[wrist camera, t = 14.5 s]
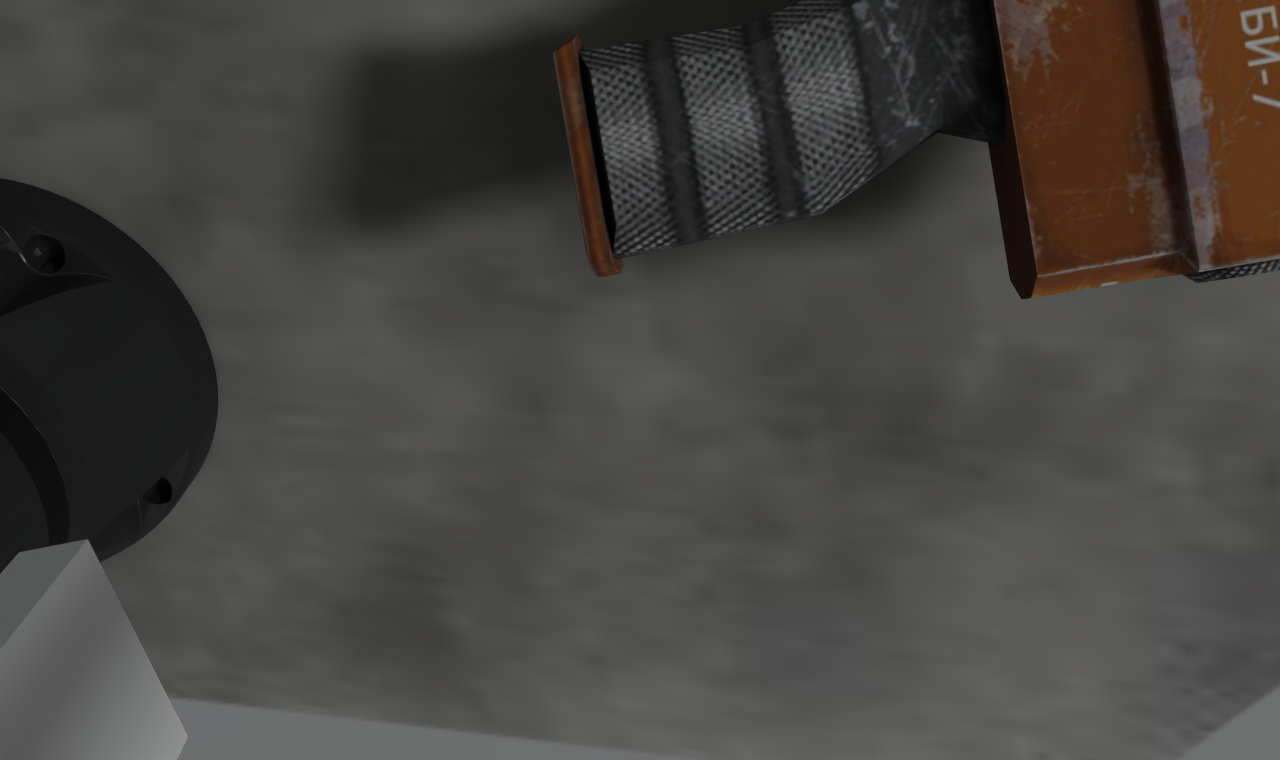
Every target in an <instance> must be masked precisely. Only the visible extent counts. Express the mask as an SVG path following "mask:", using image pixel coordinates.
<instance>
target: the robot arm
mask: <svg viewBox="0 0 1280 760" xmlns="http://www.w3.org/2000/svg"><path fill="white" fill-rule="evenodd" d="M217 413H218V387H217V379H216V372H215V367H214V363H213V359H212V355H211V352H210V348H209V345H208V343H207V340H206V337H205V334H204V332H203V330H202V328H201V325H200V323H199V321H198V319H197V317H196V315H195V313H194V312H193V310H192V308H191V306H190V305H189V303H188V301H187V300H186V298H185V297H184V295H183V294H182V292H181V291H180V289H179V288H178V287H177V285H176V284H175V283H174V281H173V280H172V279H171V277H170V276H169V275H168V274H167V273H166V272H165V270H164V269H163V268H162V267H161V266H160V265H159V264H158V263H157V262H156V261H155V259H154V258H153V257H152V256H151V255H150V254H149V253H148V252H146V251H145V250H144V249H143V248H142V247H141V246H140V245H139V244H138V243H137V242H135V241H134V240H133V239H132V238H130V237H129V236H128V235H127V234H126V233H124V232H123V231H121V230H120V229H119V228H117V227H116V226H115V225H113V224H112V223H110V222H109V221H107V220H106V219H104V218H102V217H101V216H99V215H98V214H96V213H94V212H92V211H91V210H89V209H87V208H85V207H83V206H82V205H80V204H77V203H75V202H73V201H71V200H69V199H67V198H65V197H62V196H60V195H57V194H55V193H52V192H50V191H47V190H44V189H41V188H38V187H35V186H32V185H28V184H24V183H20V182H16V181H11V180H6V179H0V760H177V759H178V756H179V754H180V752H181V750H182V748H183V746H184V744H185V742H186V740H187V738H188V737H187V735H186V732H185V730H184V728H183V726H182V724H181V722H180V721H179V718H178V717H177V715H176V712H175V711H174V709H173V707H172V705H171V703H170V701H169V699H168V697H167V695H166V693H165V691H164V689H163V687H162V685H161V683H160V681H159V679H158V677H157V675H156V673H155V671H154V669H153V667H152V665H151V663H150V661H149V659H148V657H147V655H146V653H145V651H144V649H143V647H142V645H141V643H140V641H139V639H138V637H137V635H136V633H135V631H134V629H133V628H132V626H131V624H130V622H129V620H128V618H127V616H126V614H125V612H124V610H123V608H122V606H121V604H120V602H119V600H118V598H117V596H116V594H115V592H114V590H113V588H112V586H111V584H110V582H109V580H108V578H107V576H106V574H105V572H104V570H103V568H102V566H101V564H100V562H102V561H104V560H106V559H108V558H110V557H112V556H113V555H115V554H117V553H119V552H121V551H123V550H124V549H126V548H128V547H130V546H131V545H133V544H134V543H136V542H137V541H139V540H140V539H142V538H143V537H144V536H145V535H146V534H148V533H149V532H150V531H151V530H153V529H154V528H155V527H156V526H157V525H158V524H159V523H160V522H161V521H162V520H163V519H164V518H165V517H166V516H167V515H168V514H169V513H170V511H171V510H172V509H173V508H174V506H175V505H176V504H177V502H178V501H179V499H180V498H181V497H182V495H183V494H184V492H185V491H186V490H187V488H188V487H189V485H190V484H191V482H192V481H193V479H194V478H195V477H196V475H197V474H198V472H199V470H200V468H201V467H202V465H203V463H204V461H205V459H206V456H207V454H208V452H209V449H210V446H211V443H212V440H213V436H214V432H215V428H216V421H217Z"/></svg>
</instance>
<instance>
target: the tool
mask: <svg viewBox="0 0 1280 760" xmlns="http://www.w3.org/2000/svg"><path fill="white" fill-rule="evenodd" d="M553 59H554V65H555V71H556V77H557V82H558V88H559V94H560V100H561V106H562V112H563V118H564V123H565V129H566V135H567V141H568V147H569V153H570V159H571V164H572V170H573V176H574V182H575V188H576V194H577V200H578V205H579V211H580V217H581V223H582V229H583V235H584V241H585V246H586V252H587V258H588V264H589V266H590V267H591V269H592V271H593V273H594V275H595V276H598V277H603V276H608V275H614V274H620V273H621V271H622V268H623V263H622V258H625V257H630V256H635V255H639V254H644V253H648V252H653V251H657V250H662V249H667V248H671V247H676V246H680V245H685V244H689V243H694V242H698V241H703V240H708V239H712V238H717V237H721V236H726V235H730V234H735V233H740V232H744V231H749V230H753V229H758V228H762V227H767V226H771V225H776V224H781V223H785V222H790V221H794V220H799V219H803V218H808V217H813V216H817V215H821V214H823V213H824V212H825V211H827V210H828V209H830V208H831V207H832V206H834V205H835V204H837V203H838V202H840V201H841V200H842V199H844V198H845V197H847V196H848V195H849V194H851V193H852V192H854V191H855V190H857V189H858V188H859V187H861V186H862V185H864V184H865V183H866V182H868V181H869V180H871V179H872V178H874V177H875V176H876V175H878V174H879V173H881V172H882V171H883V170H885V169H886V168H888V167H889V166H891V165H892V164H893V163H895V162H896V161H898V160H899V159H900V158H902V157H903V156H905V155H906V154H908V153H909V152H910V151H912V150H913V149H915V148H916V147H917V146H919V145H920V144H922V143H923V142H925V141H926V140H927V139H929V138H930V137H932V136H933V135H934V134H936V133H937V132H938V133H943V134H948V135H953V136H958V137H963V138H968V139H973V140H978V141H983V142H988V145H989V152H990V158H991V164H992V170H993V176H994V183H995V189H996V195H997V201H998V208H999V214H1000V220H1001V226H1002V233H1003V239H1004V245H1005V251H1006V257H1007V264H1008V270H1009V276H1010V280H1011V282H1012V284H1013V286H1014V287H1015V289H1016V291H1017V292H1018V294H1019V296H1020V297H1021V299H1027V298H1035V297H1041V296H1046V295H1052V294H1058V293H1064V292H1070V291H1076V290H1082V289H1088V288H1094V287H1100V286H1106V285H1112V284H1118V283H1124V282H1130V281H1136V280H1142V279H1148V278H1149V279H1150V278H1157V277H1165V276H1173V275H1181V274H1182V275H1184V276H1186V277H1188V278H1189V279H1191V280H1193V281H1194V282H1196V283H1200V282H1208V281H1215V280H1222V279H1228V278H1235V277H1241V276H1248V275H1254V274H1260V273H1266V272H1272V271H1278V270H1280V0H804V1H802V2H799V3H797V4H794V5H792V6H789V7H787V8H784V9H782V10H779V11H777V12H774V13H772V14H769V15H767V16H764V17H762V18H759V19H757V20H754V21H752V22H749V23H747V24H744V25H742V26H736V27H730V28H724V29H717V30H711V31H705V32H699V33H692V34H686V35H680V36H674V37H667V38H661V39H655V40H648V41H642V42H636V43H630V44H623V45H617V46H611V47H604V48H598V49H592V50H586V51H584V48H583V45H582V43H581V41H580V40H579V38H578V37H577V35H575V36H574V37H572V38H571V39H569V40H567V41H566V42H564V43H563V44H561V45H559V46H558V47H556V49H555V50H554V52H553Z"/></svg>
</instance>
